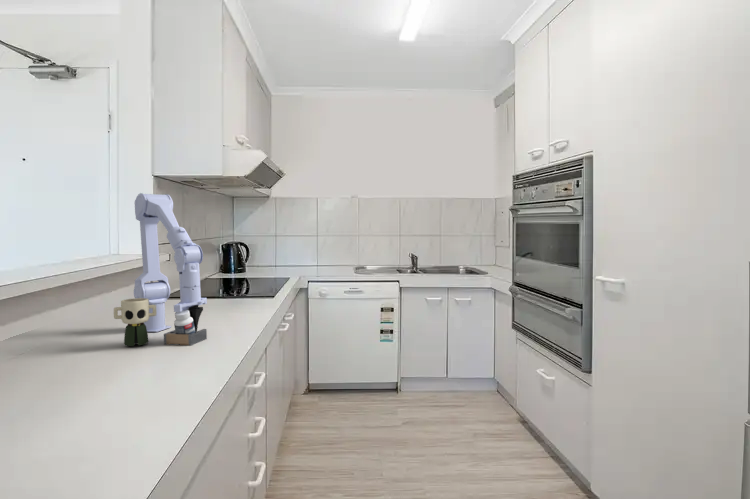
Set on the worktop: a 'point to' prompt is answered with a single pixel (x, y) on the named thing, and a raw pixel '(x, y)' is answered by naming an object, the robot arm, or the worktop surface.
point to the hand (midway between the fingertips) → (192, 332)
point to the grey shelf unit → (185, 337)
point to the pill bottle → (184, 323)
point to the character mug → (135, 319)
